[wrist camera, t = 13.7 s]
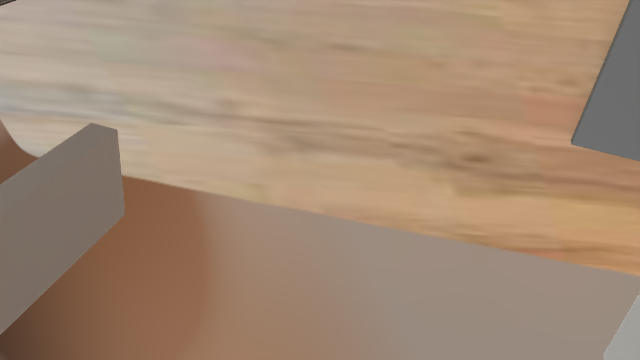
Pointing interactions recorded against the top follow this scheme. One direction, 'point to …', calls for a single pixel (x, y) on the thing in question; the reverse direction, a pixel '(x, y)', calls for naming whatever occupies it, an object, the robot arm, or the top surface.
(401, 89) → the top surface
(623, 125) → the mat
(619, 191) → the top surface
